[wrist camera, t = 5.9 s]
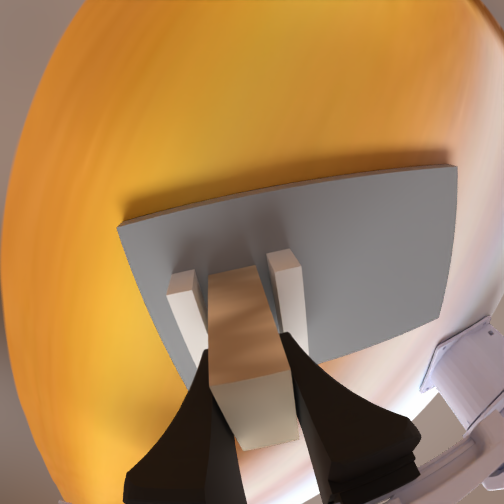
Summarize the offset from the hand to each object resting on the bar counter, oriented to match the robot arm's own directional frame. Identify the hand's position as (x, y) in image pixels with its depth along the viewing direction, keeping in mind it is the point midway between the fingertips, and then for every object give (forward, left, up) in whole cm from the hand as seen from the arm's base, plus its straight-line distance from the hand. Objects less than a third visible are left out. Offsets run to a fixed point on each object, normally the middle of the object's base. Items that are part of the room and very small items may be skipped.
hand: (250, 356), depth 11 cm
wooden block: (0, 0, -4) cm, 4 cm away
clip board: (-5, 0, -5) cm, 7 cm away
